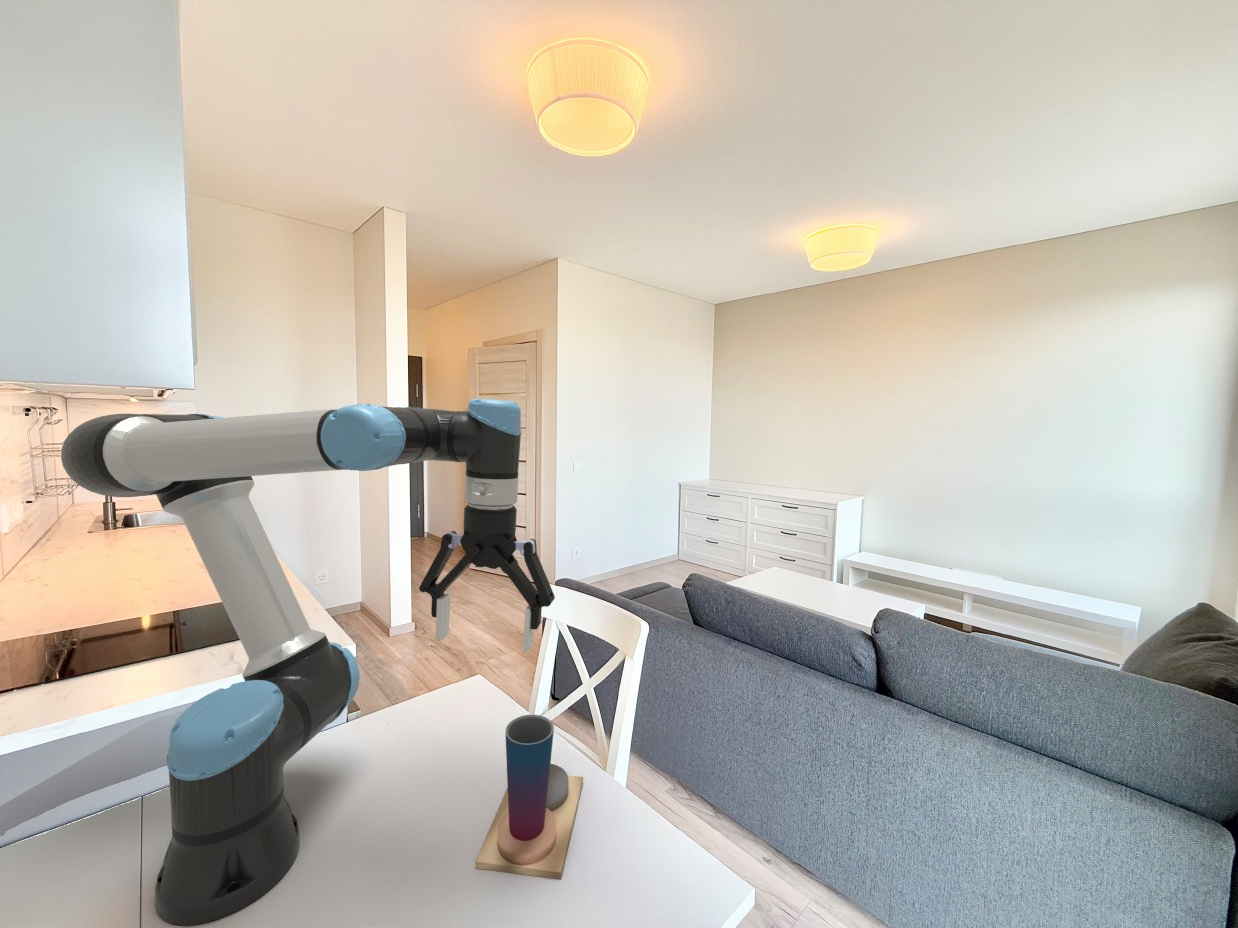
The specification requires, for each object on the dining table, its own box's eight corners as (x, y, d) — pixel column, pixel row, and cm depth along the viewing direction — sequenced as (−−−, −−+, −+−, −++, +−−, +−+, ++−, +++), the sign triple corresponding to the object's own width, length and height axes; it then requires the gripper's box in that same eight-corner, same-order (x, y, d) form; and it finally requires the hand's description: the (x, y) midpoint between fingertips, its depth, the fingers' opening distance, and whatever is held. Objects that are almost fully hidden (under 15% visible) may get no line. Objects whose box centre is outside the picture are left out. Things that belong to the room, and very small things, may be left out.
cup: (494, 840, 68) (497, 739, 67) (514, 803, 75) (516, 711, 74) (540, 850, 67) (544, 748, 66) (556, 812, 74) (560, 718, 72)
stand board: (475, 867, 67) (475, 847, 67) (515, 774, 85) (515, 758, 85) (560, 878, 66) (561, 858, 66) (583, 782, 84) (583, 765, 84)
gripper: (397, 501, 70) (393, 643, 72) (567, 517, 67) (558, 665, 69) (424, 493, 77) (420, 623, 79) (579, 508, 74) (570, 641, 76)
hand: (484, 643), depth 74 cm, fingers open, 13 cm apart
